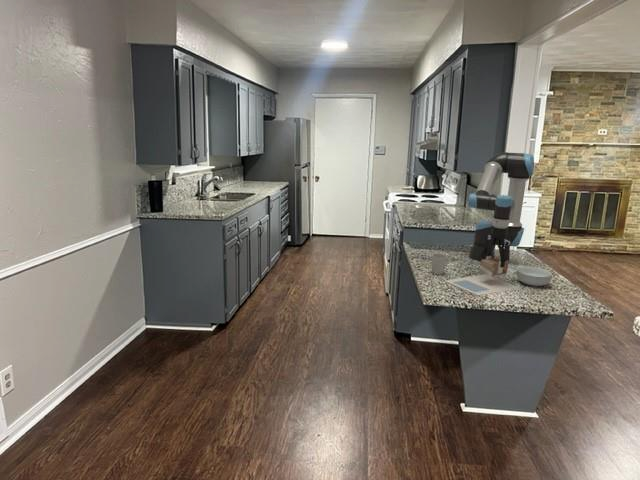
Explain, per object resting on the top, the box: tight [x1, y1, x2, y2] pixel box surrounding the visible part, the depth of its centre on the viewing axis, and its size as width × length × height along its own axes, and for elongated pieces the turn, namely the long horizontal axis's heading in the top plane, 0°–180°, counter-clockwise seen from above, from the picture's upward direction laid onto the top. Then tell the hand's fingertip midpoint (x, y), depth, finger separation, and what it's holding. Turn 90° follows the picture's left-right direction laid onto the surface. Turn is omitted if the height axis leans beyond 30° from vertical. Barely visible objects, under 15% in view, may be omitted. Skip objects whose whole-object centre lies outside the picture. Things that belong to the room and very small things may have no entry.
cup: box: [431, 253, 449, 276], centre depth 238 cm, size 8×8×10 cm
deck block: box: [479, 257, 510, 277], centre depth 227 cm, size 12×7×6 cm, turn 119°
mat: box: [443, 274, 520, 297], centre depth 225 cm, size 30×22×1 cm
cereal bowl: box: [515, 266, 553, 287], centre depth 230 cm, size 17×17×7 cm
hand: (493, 270), depth 228 cm, fingers closed on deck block, 7 cm apart
